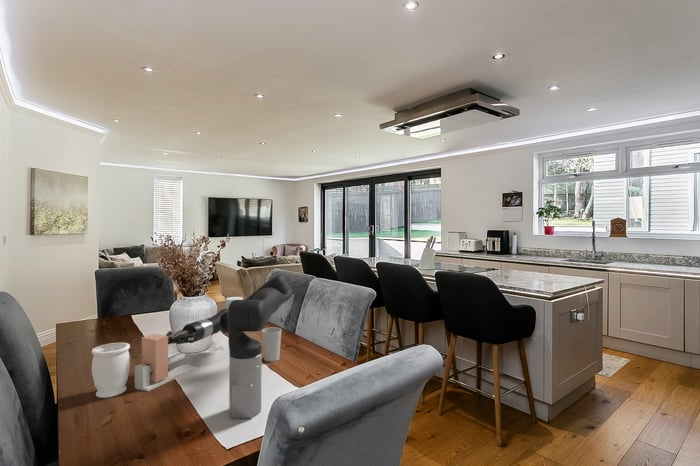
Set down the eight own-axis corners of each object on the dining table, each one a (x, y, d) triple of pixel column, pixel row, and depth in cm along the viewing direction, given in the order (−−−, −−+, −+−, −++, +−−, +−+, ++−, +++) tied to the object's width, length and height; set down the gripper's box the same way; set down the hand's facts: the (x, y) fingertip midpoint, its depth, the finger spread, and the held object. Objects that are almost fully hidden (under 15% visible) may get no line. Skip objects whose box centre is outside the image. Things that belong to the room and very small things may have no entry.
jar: (123, 382, 129) (123, 340, 128) (135, 391, 122) (135, 346, 122) (87, 393, 121) (87, 347, 120) (98, 403, 114) (97, 355, 114)
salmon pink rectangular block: (154, 373, 133) (154, 333, 133) (168, 376, 131) (168, 336, 130) (141, 378, 128) (141, 337, 128) (155, 382, 126) (155, 340, 126)
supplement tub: (247, 323, 206) (247, 297, 206) (233, 327, 198) (234, 300, 197) (234, 321, 211) (234, 295, 210) (221, 325, 203) (221, 298, 202)
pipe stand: (184, 366, 144) (184, 347, 144) (196, 368, 142) (196, 349, 142) (134, 388, 124) (134, 366, 124) (147, 391, 122) (147, 369, 122)
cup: (276, 363, 149) (277, 333, 148) (258, 361, 150) (258, 332, 150) (284, 356, 156) (284, 328, 156) (266, 354, 158) (266, 326, 158)
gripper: (185, 319, 150) (147, 330, 134) (211, 323, 145) (174, 335, 129) (185, 337, 150) (147, 351, 134) (211, 342, 145) (174, 356, 129)
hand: (161, 343), depth 132 cm, fingers closed
